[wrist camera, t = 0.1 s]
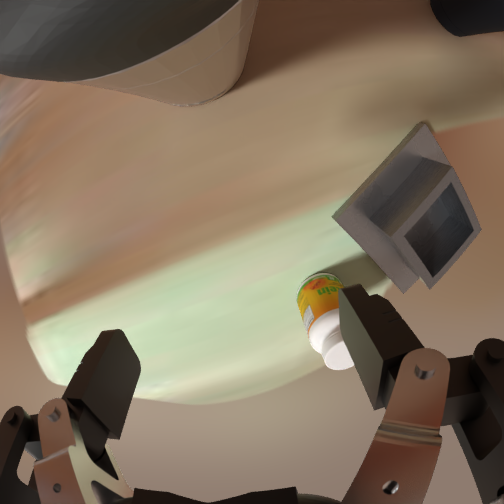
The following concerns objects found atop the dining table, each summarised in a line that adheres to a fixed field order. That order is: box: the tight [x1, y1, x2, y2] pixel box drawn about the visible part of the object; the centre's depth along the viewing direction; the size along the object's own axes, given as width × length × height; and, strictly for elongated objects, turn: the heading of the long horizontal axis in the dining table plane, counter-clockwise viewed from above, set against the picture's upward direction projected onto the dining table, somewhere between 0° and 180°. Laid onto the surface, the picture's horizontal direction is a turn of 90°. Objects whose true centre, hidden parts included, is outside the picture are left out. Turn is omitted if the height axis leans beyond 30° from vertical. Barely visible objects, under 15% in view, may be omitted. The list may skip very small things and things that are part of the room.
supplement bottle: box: [297, 273, 354, 370], centre depth 26 cm, size 5×5×10 cm
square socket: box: [332, 123, 481, 294], centre depth 24 cm, size 14×14×6 cm
